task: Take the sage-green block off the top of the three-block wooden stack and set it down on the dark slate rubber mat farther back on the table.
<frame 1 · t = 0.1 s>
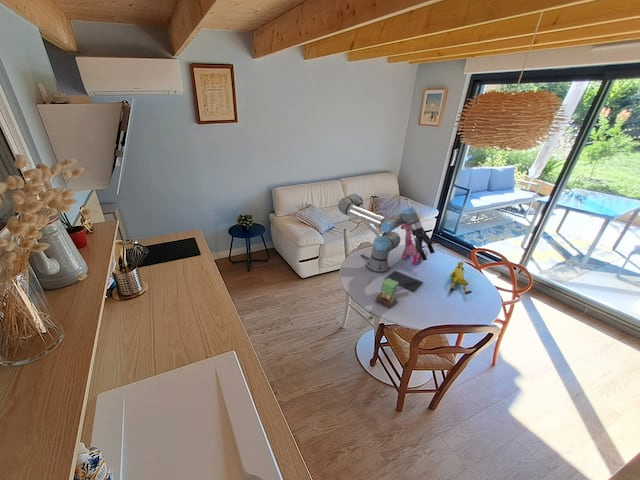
hand: (429, 256, 195), 15 cm above the table, tool tilted 35°, fingers open, 13 cm apart
toy: (409, 259, 222), on the table
green block: (388, 290, 173), point 8 cm above the table, touching beech block
beech block: (387, 296, 176), point 4 cm above the table, touching green block, walnut block
figurine: (458, 283, 194), on the table
walnut block: (386, 301, 178), on the table, touching beech block
mat: (403, 281, 196), on the table
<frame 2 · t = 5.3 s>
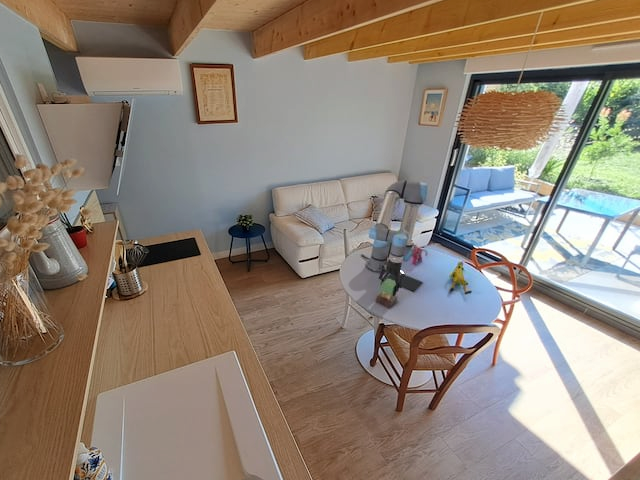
hand: (388, 292, 174), 7 cm above the table, tool pointing down, fingers closed on green block, 7 cm apart
green block: (388, 290, 173), point 8 cm above the table, touching beech block, gripper
everything else where it was.
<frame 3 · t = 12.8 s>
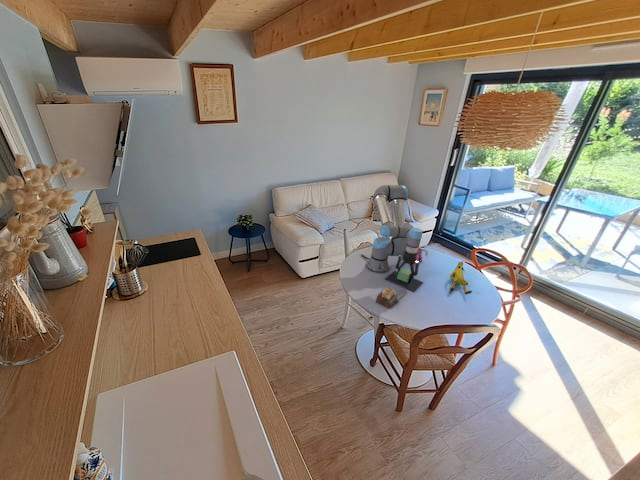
hand: (403, 280, 196), 1 cm above the table, tool pointing down, fingers closed on green block, 7 cm apart
green block: (404, 278, 195), point 2 cm above the table, touching gripper
beech block: (387, 296, 176), point 4 cm above the table, touching walnut block
everything else where it was.
when the fingers open (2 cm above the table, at t = 20.2 s): green block drops 3 cm, resting on mat.
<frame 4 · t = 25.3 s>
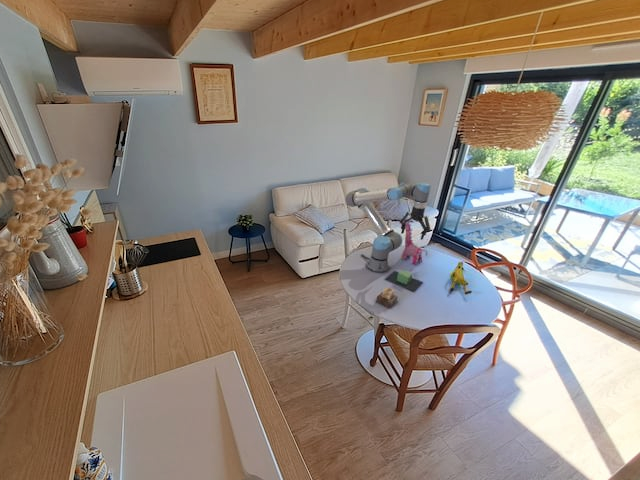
hand: (411, 236, 197), 27 cm above the table, tool pointing down, fingers open, 13 cm apart
green block: (403, 280, 196), point 1 cm above the table, touching mat
everything else where it was.
at the end: green block inside the target area on the mat (0.1 cm from its centre), point 0.6 cm above the mat's base; green block tilted 0°; beech block moved 0.0 cm from its start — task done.
